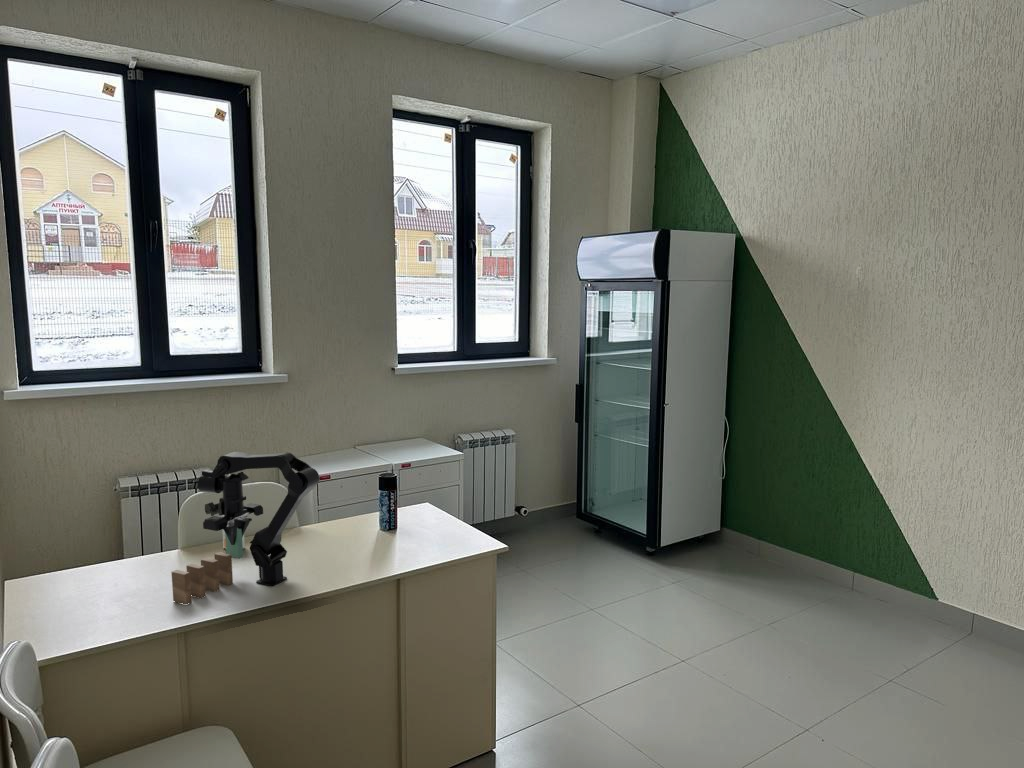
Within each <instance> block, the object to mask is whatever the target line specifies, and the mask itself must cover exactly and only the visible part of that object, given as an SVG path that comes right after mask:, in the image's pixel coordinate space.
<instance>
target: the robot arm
mask: <svg viewBox="0 0 1024 768" xmlns="http://www.w3.org/2000/svg"><path fill="white" fill-rule="evenodd" d="M216 463H217V464H216V465H215V467H214V469H213V470H212V469H205V470H202V471H201V475H200V476H199V477H198V481H197V489H198V491H199V492H201V493H207V494H208V493H209V494H210V493H211V494H221V493H222V497H220V498H219V501H218V502H217V503H215V502H213V501H211V502H208V503H206V504H204V512H205V514H206V515H210V517H208V518H205V519H204V520H203V522H202V525H203V526H202V529H203V530H209V531H215V532H218V531H222V529H223V530H224V531H225V533H226V535H227V537H228V539H229V541H230V543H231V545H235V541H236V534H237V528H241V529H242V537H243V535H244V536H245V532H246V530H247V529H248V527H249V524H250V522H252V520H253V519H252V517H251V518H250V517H249V515H252V514H253V515H254V516H256V517H258V516H260V515H263V514H264V507H263V506H262V505H261V504H259V503H258V504H257V503H247V504H244V501H247V496H246V495H244V491H243V490H244V488H243V487H244V485H243V482H244V481H246V480H249V476H248V475H247V474H246V473H244V472H243V471H245V470H252V469H253V470H257V469H277V468H278V469H279V470H280V471H281V473H282V475H283V478H284V480H286V481H287V482H288V484H287V494H286V496H285V497H284V499H283V500H282V502H281V503H280V506H279V507H278V509H277V511H276V512H275V514H274V516H273V518H272V519H271V521H270V522H269V524H268V526H266V527H264V528H263V529H260V530H258V531H257V532H255V534H254V536H253V539H252V540H251V541H250V542H249V543H250V546H249V551H250V554H251V556H252V558H253V561H254V564H255V566H257V567H258V576H259V577H258V580H256V584H260V585H266V586H269V587H273V586H276V585H278V584H280V583H281V582H284V581H286V580H288V576H286V575H285V576H284V567H283V565H284V564H283V561H284V560H283V559H284V558H286V557H287V553H288V550H287V549H286V548H285V547H284V546H283V545H282V544H281V542H282V533H283V531H284V530H285V529H286V527H287V525H288V524H289V521H290V520H291V519H292V517H293V515H294V514H295V512H296V510H297V509H298V507H299V505H300V504H301V502H302V501H303V499H304V498H305V497H306V496H307V495H308V494H309V493H310V492H311V491H313V490H314V489H315V487H317V485H318V484H319V483H320V474H319V472H318V470H316V468H313V467H312V466H311V465H309V464H308V463H307V462H305V461H303V460H301V459H299V458H298V457H296V456H295V455H294V454H293V453H291V452H288V451H287V452H283V453H282V452H281V453H269V454H268V453H265V454H262V453H261V454H249V453H246V452H243V451H242V452H241V451H233V452H230V453H226V454H224V455H220V456H219V457H218V459H217V462H216ZM296 471H297V472H296ZM237 472H238V473H237ZM217 514H218V516H215V515H217ZM222 515H224V517H222Z"/></svg>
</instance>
